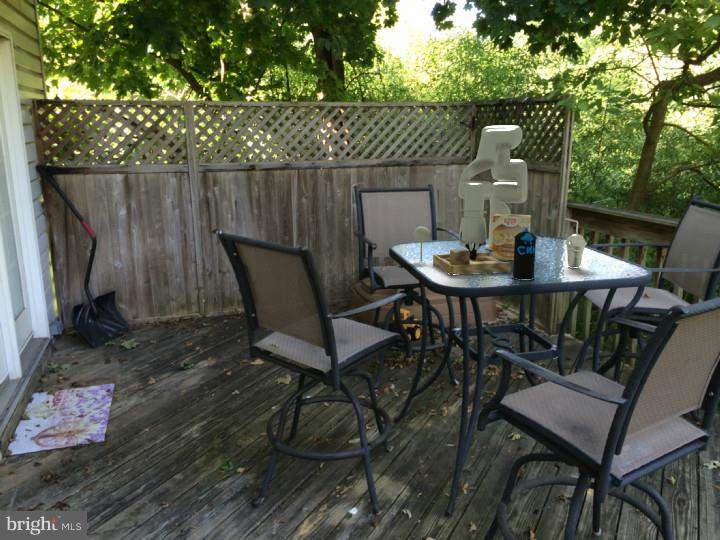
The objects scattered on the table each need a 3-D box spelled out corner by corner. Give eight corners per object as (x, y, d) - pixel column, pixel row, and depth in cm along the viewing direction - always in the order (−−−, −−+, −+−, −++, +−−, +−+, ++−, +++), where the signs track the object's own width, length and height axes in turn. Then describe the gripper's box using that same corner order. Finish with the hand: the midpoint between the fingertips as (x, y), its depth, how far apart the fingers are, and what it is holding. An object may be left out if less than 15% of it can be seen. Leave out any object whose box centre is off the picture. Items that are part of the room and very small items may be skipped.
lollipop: (430, 258, 257) (431, 225, 254) (427, 262, 251) (427, 227, 247) (415, 257, 260) (415, 224, 256) (411, 261, 253) (411, 227, 250)
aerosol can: (509, 275, 225) (511, 224, 220) (529, 275, 225) (532, 224, 221) (516, 281, 217) (519, 228, 212) (537, 280, 217) (541, 227, 213)
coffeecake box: (491, 259, 254) (492, 215, 250) (494, 256, 261) (496, 213, 256) (526, 262, 248) (528, 216, 244) (528, 258, 254) (531, 214, 250)
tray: (488, 260, 252) (488, 251, 251) (510, 272, 230) (511, 262, 230) (433, 263, 247) (433, 254, 246) (450, 275, 226) (450, 265, 225)
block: (463, 263, 236) (464, 248, 234) (469, 266, 230) (469, 251, 229) (449, 264, 235) (450, 249, 233) (455, 267, 229) (455, 252, 228)
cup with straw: (574, 270, 232) (578, 221, 227) (557, 266, 240) (560, 218, 235) (589, 268, 236) (593, 219, 231) (572, 264, 243) (575, 216, 239)
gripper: (487, 212, 234) (486, 257, 238) (452, 214, 231) (451, 259, 236) (495, 215, 227) (493, 260, 231) (459, 216, 224) (458, 262, 228)
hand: (472, 259), depth 233 cm, fingers closed
